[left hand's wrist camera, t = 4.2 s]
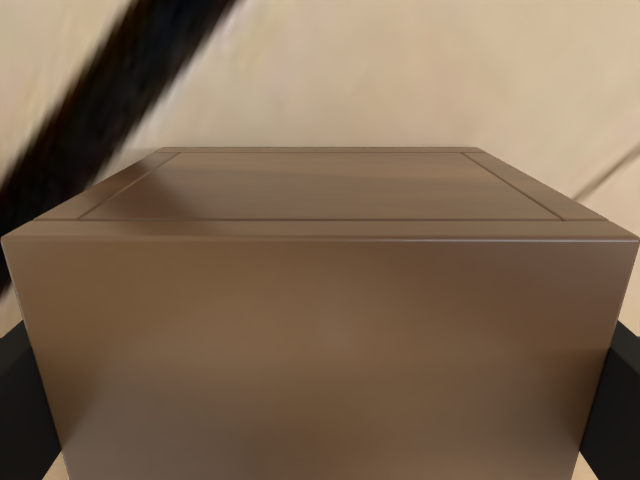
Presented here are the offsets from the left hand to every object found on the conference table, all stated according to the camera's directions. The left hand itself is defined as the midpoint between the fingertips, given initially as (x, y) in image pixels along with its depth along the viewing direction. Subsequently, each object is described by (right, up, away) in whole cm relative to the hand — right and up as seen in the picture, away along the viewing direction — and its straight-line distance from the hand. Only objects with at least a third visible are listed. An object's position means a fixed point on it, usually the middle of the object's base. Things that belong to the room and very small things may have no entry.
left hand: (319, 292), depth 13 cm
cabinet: (0, -4, +6) cm, 7 cm away
